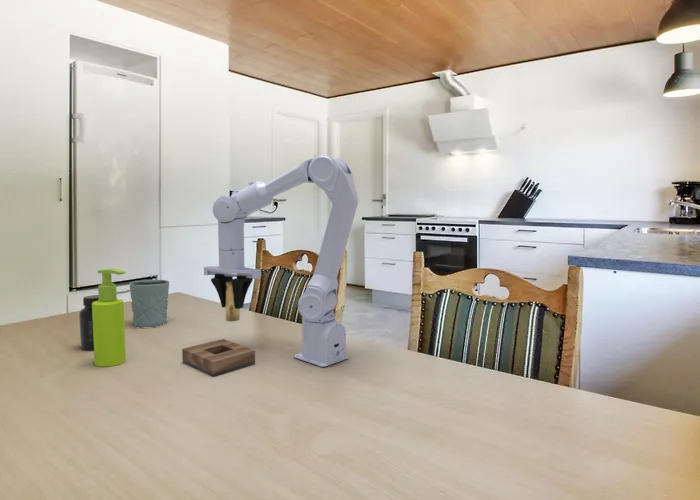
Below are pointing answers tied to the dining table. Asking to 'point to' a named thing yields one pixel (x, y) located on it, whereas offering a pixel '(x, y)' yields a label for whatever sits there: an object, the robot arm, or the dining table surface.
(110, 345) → the soap dispenser
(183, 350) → the walnut block
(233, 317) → the brass peg
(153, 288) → the grey-green plant pot
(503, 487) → the dining table surface
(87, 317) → the supplement bottle
